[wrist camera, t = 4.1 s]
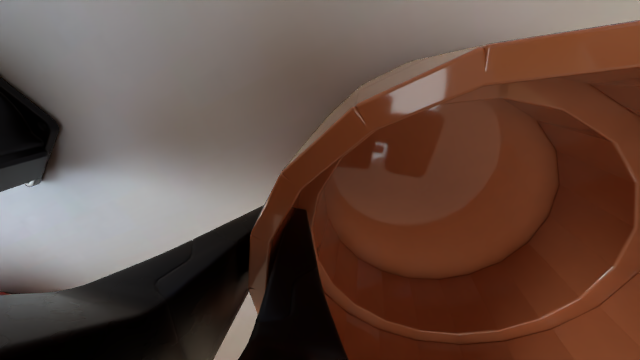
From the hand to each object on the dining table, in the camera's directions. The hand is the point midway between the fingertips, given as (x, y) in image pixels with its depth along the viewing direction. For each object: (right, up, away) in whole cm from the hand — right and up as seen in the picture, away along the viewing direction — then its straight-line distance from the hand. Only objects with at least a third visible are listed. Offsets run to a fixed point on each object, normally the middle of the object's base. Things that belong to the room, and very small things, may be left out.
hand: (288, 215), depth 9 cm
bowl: (+7, +1, +3) cm, 7 cm away
